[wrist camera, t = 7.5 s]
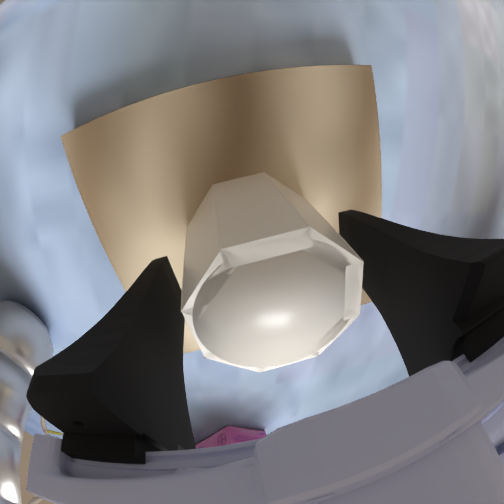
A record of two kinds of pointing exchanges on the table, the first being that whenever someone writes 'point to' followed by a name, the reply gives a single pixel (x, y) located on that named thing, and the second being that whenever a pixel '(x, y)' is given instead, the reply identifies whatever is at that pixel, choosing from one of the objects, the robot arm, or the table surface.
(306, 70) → the stud base
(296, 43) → the table surface
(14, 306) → the plastic bottle
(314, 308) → the cap
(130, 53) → the table surface
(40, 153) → the table surface
